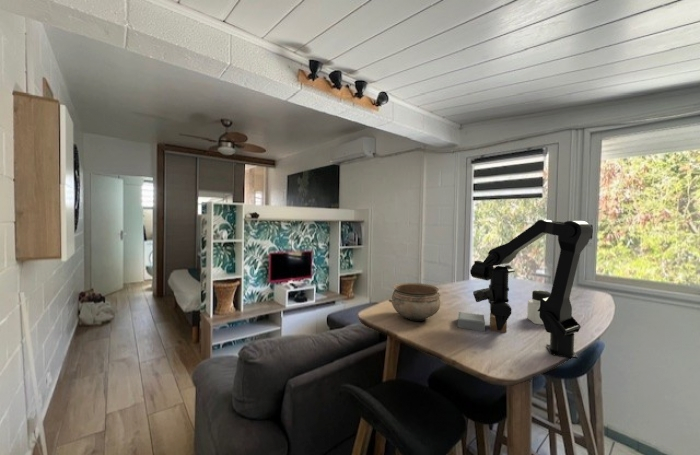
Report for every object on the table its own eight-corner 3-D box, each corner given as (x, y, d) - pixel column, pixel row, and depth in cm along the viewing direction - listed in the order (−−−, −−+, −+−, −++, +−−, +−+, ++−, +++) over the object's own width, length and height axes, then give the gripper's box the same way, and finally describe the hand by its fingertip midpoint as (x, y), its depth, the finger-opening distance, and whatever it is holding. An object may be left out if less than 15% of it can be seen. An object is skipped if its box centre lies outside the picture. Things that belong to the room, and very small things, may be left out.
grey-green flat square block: (484, 331, 102) (484, 322, 102) (457, 327, 105) (457, 318, 105) (483, 322, 110) (483, 314, 110) (458, 319, 114) (458, 311, 114)
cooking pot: (404, 331, 101) (405, 297, 100) (375, 315, 118) (376, 285, 117) (456, 320, 112) (457, 289, 112) (423, 307, 129) (423, 280, 129)
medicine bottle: (555, 325, 108) (556, 294, 107) (534, 324, 109) (535, 292, 109) (546, 319, 115) (547, 289, 114) (526, 317, 116) (527, 288, 116)
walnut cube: (506, 332, 101) (506, 318, 101) (490, 330, 103) (491, 316, 103) (504, 327, 106) (505, 314, 106) (489, 325, 108) (490, 312, 107)
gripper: (474, 276, 115) (473, 314, 116) (475, 286, 98) (474, 331, 99) (506, 278, 111) (504, 318, 112) (512, 289, 94) (510, 337, 95)
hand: (498, 325), depth 104 cm, fingers open, 9 cm apart
